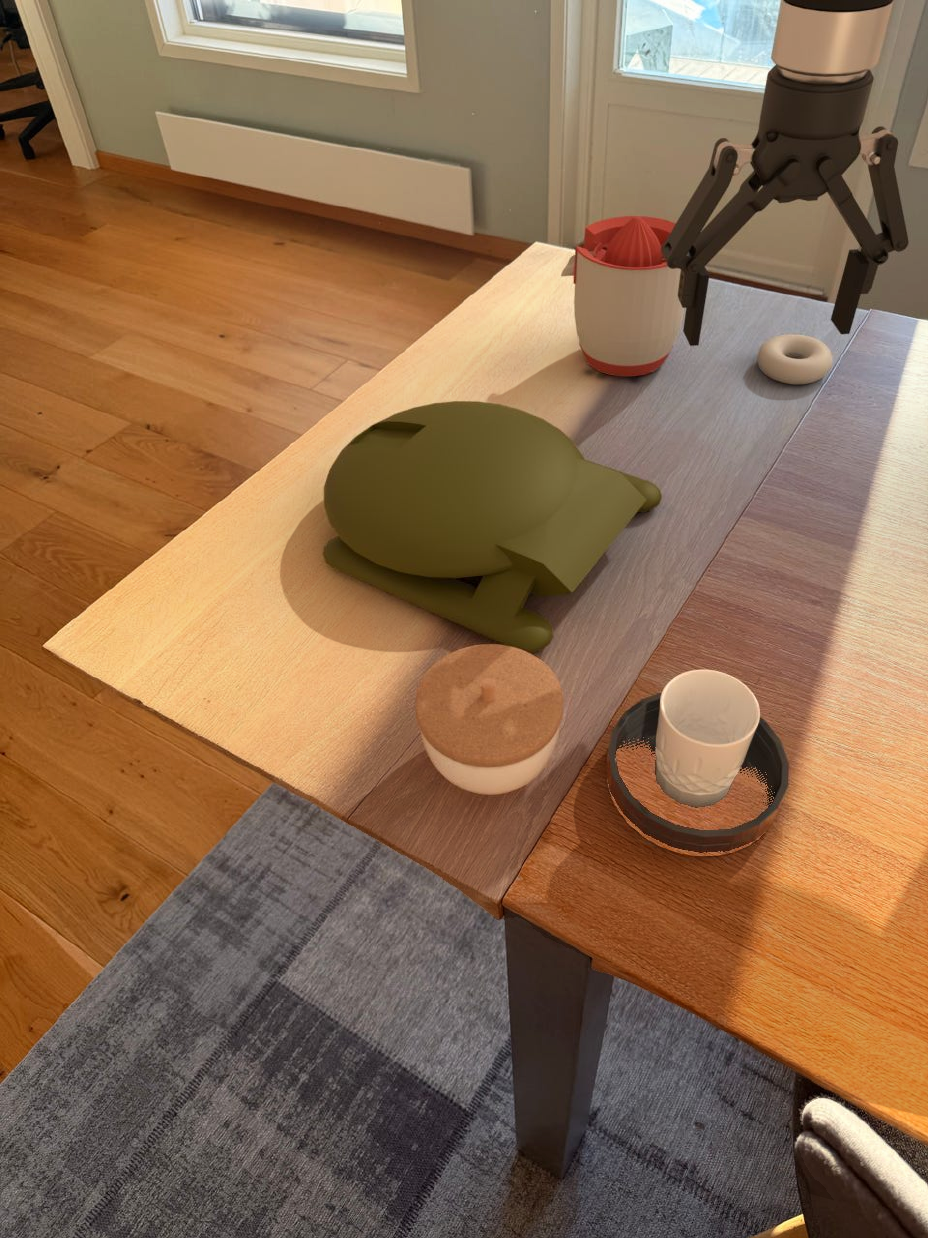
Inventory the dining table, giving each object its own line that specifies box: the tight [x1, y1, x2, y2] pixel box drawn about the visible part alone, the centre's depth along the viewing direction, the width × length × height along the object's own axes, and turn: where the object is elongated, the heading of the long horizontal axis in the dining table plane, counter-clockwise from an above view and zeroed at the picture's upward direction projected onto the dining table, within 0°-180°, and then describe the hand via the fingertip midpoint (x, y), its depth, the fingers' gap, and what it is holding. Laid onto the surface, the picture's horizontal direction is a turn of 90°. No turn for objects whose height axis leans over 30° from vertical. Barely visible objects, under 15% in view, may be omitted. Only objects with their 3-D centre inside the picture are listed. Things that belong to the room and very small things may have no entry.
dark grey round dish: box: [605, 691, 790, 853], centre depth 80 cm, size 15×15×4 cm
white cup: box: [655, 669, 761, 808], centre depth 77 cm, size 8×8×10 cm
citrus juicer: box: [560, 215, 686, 377], centre depth 123 cm, size 16×17×20 cm
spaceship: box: [322, 400, 663, 654], centre depth 103 cm, size 35×31×10 cm
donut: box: [756, 333, 834, 385], centre depth 125 cm, size 10×4×10 cm
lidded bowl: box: [414, 643, 564, 796], centre depth 79 cm, size 13×13×11 cm
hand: (765, 332), depth 82 cm, fingers open, 13 cm apart
